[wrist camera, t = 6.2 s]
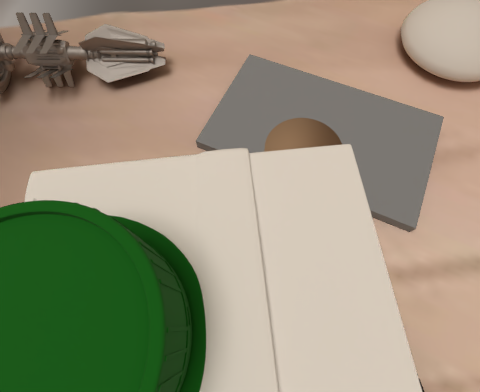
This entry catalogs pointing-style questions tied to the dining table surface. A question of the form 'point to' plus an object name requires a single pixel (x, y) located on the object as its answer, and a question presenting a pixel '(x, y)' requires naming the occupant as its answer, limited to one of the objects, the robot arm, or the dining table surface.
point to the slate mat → (342, 123)
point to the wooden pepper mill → (300, 135)
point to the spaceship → (79, 53)
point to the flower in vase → (445, 38)
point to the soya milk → (200, 278)
